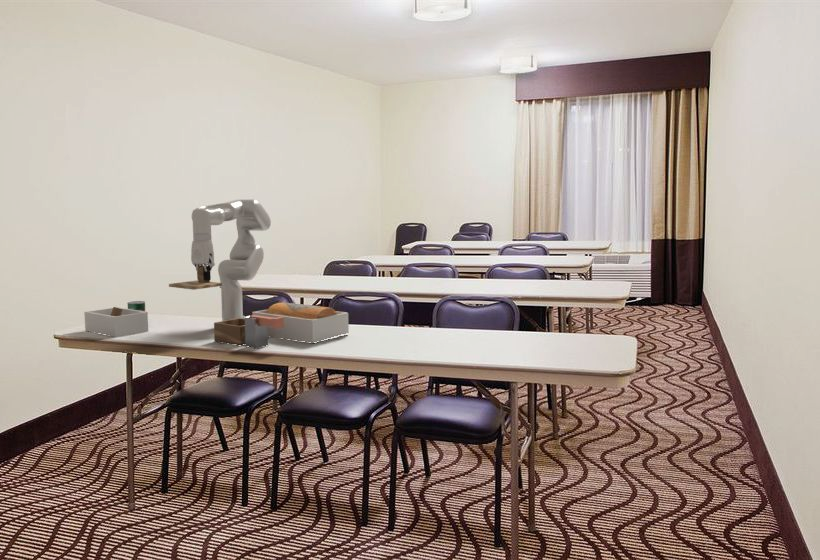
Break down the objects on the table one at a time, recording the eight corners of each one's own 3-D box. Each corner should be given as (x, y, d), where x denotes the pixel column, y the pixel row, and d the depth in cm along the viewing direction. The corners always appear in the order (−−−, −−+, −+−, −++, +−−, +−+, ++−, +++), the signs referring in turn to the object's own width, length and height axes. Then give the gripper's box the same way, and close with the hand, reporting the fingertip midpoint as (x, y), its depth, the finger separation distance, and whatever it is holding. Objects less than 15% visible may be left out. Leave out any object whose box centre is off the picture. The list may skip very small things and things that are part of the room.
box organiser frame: (289, 326, 319) (289, 305, 318) (348, 335, 299) (348, 312, 298) (252, 334, 300) (252, 312, 299) (312, 344, 280) (312, 320, 279)
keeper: (258, 343, 281) (257, 315, 279) (268, 345, 277) (267, 316, 276) (245, 346, 275) (244, 317, 274) (255, 348, 272) (255, 319, 270)
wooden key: (256, 323, 278) (256, 313, 278) (284, 327, 269) (283, 317, 269) (248, 324, 275) (247, 315, 274) (276, 329, 266) (275, 318, 265)
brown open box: (240, 335, 297) (239, 317, 296) (265, 340, 288) (265, 321, 287) (214, 341, 286) (214, 322, 285) (240, 345, 277) (239, 326, 276)
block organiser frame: (117, 325, 320) (116, 307, 319) (148, 331, 307) (147, 312, 306) (85, 331, 307) (84, 311, 306) (115, 337, 294) (114, 317, 293)
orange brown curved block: (341, 336, 296) (341, 305, 295) (315, 343, 283) (314, 310, 281) (292, 329, 314) (291, 299, 312) (265, 335, 300) (265, 304, 299)
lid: (197, 283, 301) (196, 264, 300) (221, 285, 291) (221, 266, 290) (168, 286, 289) (168, 267, 288) (194, 289, 280) (193, 270, 279)
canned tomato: (131, 323, 327) (130, 301, 326) (148, 323, 328) (147, 300, 326) (125, 326, 319) (124, 303, 318) (142, 326, 320) (141, 303, 318)
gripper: (182, 237, 293) (184, 279, 295) (207, 238, 284) (209, 282, 286) (197, 236, 299) (198, 277, 301) (222, 237, 290) (223, 280, 292)
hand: (204, 279), depth 294 cm, fingers closed on lid, 3 cm apart
